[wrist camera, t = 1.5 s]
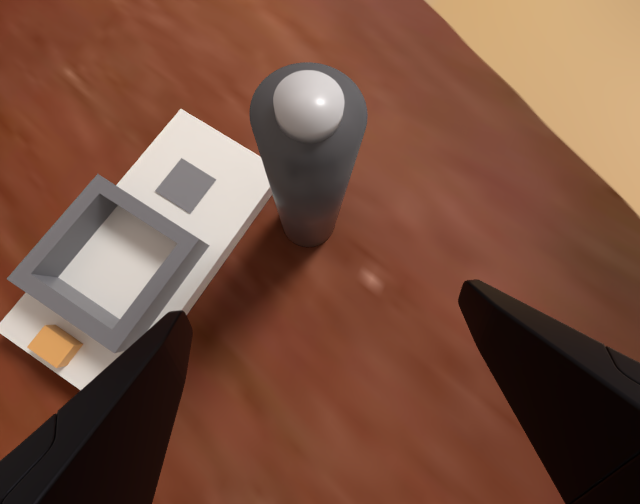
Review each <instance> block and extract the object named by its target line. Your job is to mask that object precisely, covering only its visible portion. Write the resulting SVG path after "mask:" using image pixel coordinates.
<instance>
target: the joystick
mask: <svg viewBox="0 0 640 504" xmlns="http://www.w3.org/2000/svg"><path fill="white" fill-rule="evenodd" d="M250 123H251V126H252V130H253V133H254V136H255V139H256V143H257V146H258V149H259V152H260V156H261V159H262V162H263V165H264V168H265V172H266V175H267V178H268V181H269V184H270V188H271V191H272V194H273V197H274V201H275V204H276V207H277V210H278V213H279V217H280V220H281V223H282V226H283V229H284V232H285V234H286V236H287V237H288V238H289V239H290V240H291V241H292V242H294V243H295V244H297V245H300V246H303V247H314V246H318V245H320V244H322V243H324V242H325V241H326V240H327V239H328V238H329V237H330V236H331V234H332V232H333V229H334V226H335V223H336V220H337V217H338V214H339V211H340V207H341V204H342V201H343V198H344V195H345V192H346V189H347V185H348V182H349V179H350V176H351V173H352V170H353V167H354V164H355V160H356V157H357V154H358V151H359V148H360V145H361V142H362V139H363V135H364V132H365V129H366V125H367V107H366V103H365V100H364V97H363V95H362V93H361V91H360V90H359V88H358V87H357V86H356V84H355V83H354V82H353V81H352V80H351V79H350V78H349V77H347V76H346V75H345V74H343V73H342V72H340V71H339V70H337V69H335V68H332V67H330V66H327V65H323V64H319V63H296V64H291V65H288V66H285V67H282V68H280V69H278V70H276V71H274V72H273V73H271V74H270V75H269V76H268V77H266V78H265V79H264V80H263V81H262V82H261V84H260V85H259V86H258V88H257V89H256V91H255V93H254V95H253V98H252V101H251V105H250Z"/></svg>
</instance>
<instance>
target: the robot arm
mask: <svg viewBox="0 0 640 504" xmlns="http://www.w3.org/2000/svg"><path fill="white" fill-rule="evenodd" d="M458 303H459V307H460V309H461V311H462V314H463V316H464V318H465V321H466V323H467V325H468V328H469V330H470V332H471V334H472V337H473V339H474V341H475V343H476V346H477V348H478V349H479V351H480V353H481V355H482V357H483V359H484V360H485V362H486V364H487V366H488V367H489V369H490V371H491V373H492V375H493V376H494V378H495V380H496V382H497V383H498V385H499V387H500V389H501V390H502V392H503V394H504V396H505V398H506V399H507V401H508V403H509V405H510V406H511V408H512V410H513V412H514V413H515V415H516V417H517V419H518V421H519V422H520V424H521V426H522V428H523V429H524V431H525V433H526V435H527V437H528V438H529V440H530V442H531V444H532V445H533V447H534V449H535V451H536V452H537V454H538V456H539V458H540V460H541V461H542V463H543V465H544V467H545V468H546V470H547V472H548V474H549V476H550V477H551V479H552V481H553V483H554V484H555V486H556V488H557V490H558V491H559V493H560V495H561V497H562V499H563V500H564V502H565V504H640V363H639V362H637V361H635V360H633V359H631V358H629V357H627V356H625V355H623V354H621V353H619V352H617V351H615V350H614V349H612V348H610V347H607V346H606V347H605V345H604V344H602V343H600V342H598V341H596V340H594V339H592V338H590V337H588V336H586V335H584V334H583V333H581V332H579V331H577V330H575V329H573V328H571V327H569V326H567V325H565V324H563V323H561V322H559V321H557V320H556V319H554V318H552V317H550V316H548V315H546V314H544V313H542V312H540V311H538V310H536V309H534V308H532V307H530V306H528V305H527V304H525V303H523V302H521V301H519V300H517V299H515V298H513V297H511V296H509V295H507V294H505V293H503V292H501V291H499V290H498V289H496V288H494V287H492V286H490V285H488V284H486V283H484V282H482V281H480V280H476V279H475V280H467V281H465V282H464V283H463V285H462V289H461V292H460V295H459V299H458ZM191 341H192V327H191V325H190V322H189V320H188V318H187V316H186V313H185V312H184V311H183V310H177V311H170V312H168V313H167V314H165V315H164V316H163V317H162V318H161V319H160V320H159V321H158V322H157V323H155V324H154V325H153V326H152V327H151V328H150V329H149V330H148V331H146V332H145V333H144V334H143V335H142V336H141V337H140V338H139V339H138V340H136V341H135V342H134V343H133V344H132V345H131V346H130V347H129V348H128V349H126V350H125V351H124V352H123V353H122V354H121V355H120V356H119V357H117V358H116V359H115V360H114V361H113V362H112V363H111V364H110V365H109V366H107V367H106V368H105V369H104V370H103V371H102V372H101V373H100V374H98V375H97V376H96V377H95V378H94V379H93V380H92V381H91V382H90V383H88V384H87V385H86V386H85V387H84V388H83V389H82V390H81V391H79V392H78V393H77V394H76V395H75V396H74V397H73V398H72V399H71V400H69V401H68V402H67V403H66V404H65V405H64V406H63V407H62V408H60V409H59V410H58V412H57V414H54V415H53V416H51V417H50V418H49V419H48V420H47V421H46V422H45V423H44V424H42V425H41V426H40V427H39V428H38V429H37V430H36V431H35V432H33V433H32V434H31V435H30V436H29V437H28V438H27V439H25V440H24V441H23V442H22V443H21V444H20V445H18V446H17V447H16V448H15V449H14V450H13V451H11V452H10V453H9V454H8V455H7V456H5V457H4V458H3V459H2V460H1V461H0V504H152V502H153V498H154V494H155V491H156V487H157V483H158V480H159V476H160V472H161V469H162V465H163V461H164V458H165V454H166V450H167V447H168V443H169V439H170V436H171V432H172V428H173V425H174V421H175V417H176V414H177V410H178V406H179V403H180V399H181V395H182V392H183V388H184V384H185V379H186V373H187V367H188V360H189V354H190V347H191Z"/></svg>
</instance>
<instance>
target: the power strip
mask: <svg viewBox="0 0 640 504" xmlns="http://www.w3.org/2000/svg"><path fill="white" fill-rule="evenodd" d="M271 196H272V191H271V188H270V184H269V181H268V178H267V175H266V172H265V168H264V165H263V162H262V159H261V157H260V156H258V155H257V154H255V153H253V152H252V151H250V150H248V149H247V148H245V147H243V146H242V145H240V144H238V143H237V142H235V141H233V140H232V139H230V138H228V137H227V136H225V135H223V134H222V133H220V132H219V131H217V130H215V129H214V128H212V127H210V126H209V125H207V124H205V123H204V122H202V121H200V120H199V119H197V118H195V117H194V116H192V115H190V114H189V113H187V112H185V111H184V110H182V109H180V110H179V112H178V113H177V114H176V115H175V116H174V118H173V119H172V120H171V121H170V122H169V123H168V125H167V126H166V127H165V128H164V129H163V131H162V132H161V133H160V134H159V135H158V136H157V138H156V139H155V140H154V141H153V142H152V144H151V145H150V146H149V147H148V148H147V150H146V151H145V152H144V153H143V154H142V155H141V157H140V158H139V159H138V160H137V161H136V163H135V164H134V165H133V166H132V167H131V168H130V170H129V171H128V172H127V173H126V174H125V176H124V177H123V178H122V179H121V180H120V181H119V183H118V184H117V185H114V184H113V183H111V182H110V181H108V180H106V179H105V178H103V177H102V176H100V175H99V174H97V175H96V176H95V178H94V179H93V180H92V181H91V182H90V183H89V185H88V186H87V187H86V188H85V189H84V190H83V191H82V193H81V194H80V195H79V196H78V197H77V198H76V200H75V201H74V202H73V203H72V204H71V205H70V206H69V208H68V209H67V210H66V211H65V212H64V213H63V214H62V216H61V217H60V218H59V219H58V220H57V221H56V223H55V224H54V225H53V226H52V227H51V228H50V229H49V231H48V232H47V233H46V234H45V235H44V236H43V238H42V239H41V240H40V241H39V242H38V243H37V244H36V246H35V247H34V248H33V249H32V250H31V251H30V253H29V254H28V255H27V256H26V257H25V258H24V259H23V261H22V262H21V263H20V264H19V265H18V266H17V268H16V269H15V270H14V271H13V272H12V273H11V274H10V276H9V277H8V278H7V280H9V281H10V282H12V283H13V284H15V285H16V286H18V287H19V288H20V289H22V290H23V291H25V292H26V293H25V294H24V295H23V296H22V298H21V299H20V300H19V301H18V302H17V304H16V305H15V306H14V307H13V308H12V309H11V311H10V312H9V313H8V314H7V315H6V317H5V318H4V319H3V320H2V321H1V322H0V334H2V335H3V336H5V337H6V338H7V339H9V340H10V341H12V342H13V343H15V344H16V345H17V346H19V347H20V348H22V349H23V350H24V351H26V352H27V353H29V354H30V355H31V356H33V357H34V358H36V359H37V360H38V361H40V362H41V363H43V364H44V365H46V366H47V367H48V368H50V369H51V370H53V371H54V372H55V373H57V374H58V375H60V376H61V377H62V378H64V379H65V380H67V381H68V382H69V383H71V384H72V385H74V386H75V387H77V388H78V389H79V390H82V389H83V388H84V387H85V386H86V385H87V384H88V383H90V382H91V381H92V380H93V379H94V378H95V377H96V376H97V375H98V374H100V373H101V372H102V371H103V370H104V369H105V368H106V367H107V366H109V365H110V364H111V363H112V362H113V361H114V360H115V359H116V358H117V357H119V356H120V355H121V354H122V353H123V352H124V351H125V350H126V349H128V348H129V347H130V346H131V345H132V344H133V343H134V342H135V341H136V340H138V339H139V338H140V337H141V336H142V335H143V334H144V333H145V332H146V331H148V330H149V329H150V328H151V327H152V326H153V325H154V324H155V323H157V322H158V321H159V320H160V319H161V318H162V317H163V316H164V315H165V314H167V313H168V312H170V311H177V310H183V311H184V312H185V313H186V315H187V314H188V313H189V311H190V310H191V308H192V307H193V306H194V304H195V303H196V301H197V300H198V299H199V297H200V296H201V294H202V293H203V292H204V290H205V289H206V287H207V286H208V284H209V283H210V282H211V280H212V279H213V277H214V276H215V275H216V273H217V272H218V270H219V269H220V268H221V266H222V265H223V263H224V262H225V260H226V259H227V258H228V256H229V255H230V253H231V252H232V251H233V249H234V248H235V246H236V245H237V244H238V242H239V241H240V239H241V238H242V237H243V235H244V234H245V232H246V231H247V229H248V228H249V227H250V225H251V224H252V222H253V221H254V220H255V218H256V217H257V215H258V214H259V213H260V211H261V210H262V208H263V207H264V206H265V204H266V203H267V201H268V200H269V198H270V197H271Z"/></svg>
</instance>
